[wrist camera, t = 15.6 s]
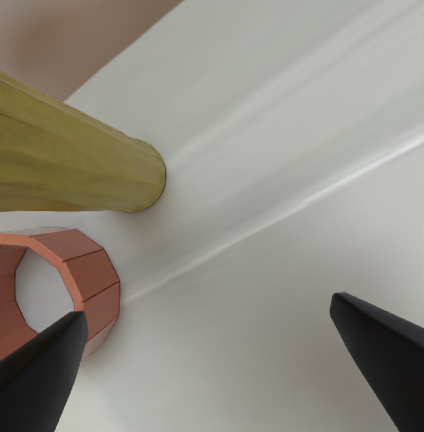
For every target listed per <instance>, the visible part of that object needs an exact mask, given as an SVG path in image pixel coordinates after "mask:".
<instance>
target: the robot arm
mask: <svg viewBox="0 0 424 432" xmlns="http://www.w3.org/2000/svg"><path fill="white" fill-rule="evenodd" d="M330 316H331V319H332V320H333V322H334V324H335V326H336V328H337V330H338V332H339V334H340V336H341V338H342V340H343V342H344V343H345V345H346V347H347V349H348V351H349V353H350V355H351V356H352V358H353V360H354V361H355V363H356V365H357V366H358V368H359V369H360V371H361V372H362V374H363V376H364V377H365V379H366V380H367V382H368V383H369V385H370V387H371V388H372V390H373V391H374V393H375V394H376V396H377V397H378V399H379V401H380V402H381V404H382V405H383V407H384V408H385V410H386V412H387V413H388V415H389V416H390V418H391V419H392V421H393V422H394V424H395V426H396V427H397V429H398V430H399V432H424V328H422V327H420V326H418V325H415V324H413V323H411V322H409V321H407V320H405V319H402V318H400V317H398V316H396V315H394V314H391V313H389V312H387V311H385V310H383V309H381V308H378V307H376V306H374V305H372V304H370V303H367V302H365V301H363V300H361V299H359V298H356V297H354V296H352V295H350V294H348V293H345V292H340V293H334V294H333V296H332V301H331V306H330ZM88 335H89V329H88V324H87V319H86V314H85V312H84V311H72V312H70V313H68V314H67V315H65V316H64V317H62V318H61V319H59V320H58V321H57V322H55V323H54V324H52V325H51V326H49V327H48V328H47V329H45V330H44V331H42V332H41V333H39V334H38V335H36V336H35V337H34V338H32V339H31V340H29V341H28V342H26V343H25V344H24V345H22V346H21V347H19V348H18V349H16V350H15V351H14V352H12V353H11V354H9V355H8V356H6V357H5V358H3V359H2V360H1V361H0V432H54V431H55V429H56V426H57V424H58V422H59V419H60V417H61V414H62V412H63V410H64V407H65V405H66V402H67V400H68V397H69V395H70V393H71V390H72V387H73V385H74V382H75V379H76V375H77V372H78V369H79V366H80V362H81V359H82V356H83V352H84V349H85V346H86V343H87V339H88Z"/></svg>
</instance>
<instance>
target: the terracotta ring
mask: <svg viewBox="0 0 424 432" xmlns="http://www.w3.org/2000/svg"><path fill="white" fill-rule="evenodd" d="M28 247H29V248H31V249H32V250H33V251H35V252H36V253H37V254H39V255H40V256H41V257H43V258H44V259H45V260H47V261H48V262H49V263H50V264H52V265H53V266H54V267H56V268H57V269H58V271H59V273H60V275H61V277H62V279H63V281H64V284H65V286H66V288H67V290H68V292H69V294H70V296H71V298H72V300H73V302H74V311H84V312H85V314H86V319H87V324H88V329H89V335H88V339H87V343H86V346H85V349H84V352H83V356H82V359H81V362H82V361H83V360H84V359H85V358H86V357H87V356H88V355H89V354H90V353H92V352H93V351H94V350H95V349H96V348H97V347H98V346H99V345H100V344H101V343H102V342H103V341H104V339H105V338H106V336H107V334H108V333H109V331H110V330H111V328H112V326H113V325H114V323H115V321H116V320H117V318H118V315H119V288H120V282H118V281H119V278H118V276H117V274H116V272H115V270H114V268H113V266H112V264H111V262H110V260H109V258H108V256H107V254H106V252H105V250H103V248H102V247H101V246H100V245H98V244H97V243H95V242H94V241H93V240H91V239H90V238H88V237H87V236H86V235H84V234H83V233H81V232H80V231H79V230H76V229H67V228H53V227H44V228H35V229H26V230H17V231H8V232H0V361H1V360H2V359H3V358H5V357H6V356H8V355H9V354H11V353H12V352H14V351H15V350H16V349H18V348H19V347H21V346H22V345H24V344H25V343H26V342H28V341H29V340H31V339H32V338H34V337H35V336H36V335H38V334H37V333H36V332H35V331H33V330H32V329H31V328H30V327H28V326H27V325H26V323H25V321H24V319H23V316H22V314H21V312H20V310H19V308H18V306H17V304H16V302H15V270H16V268H17V266H18V264H19V262H20V260H21V258H22V256H23V254H24V252H25V250H26V249H27V248H28ZM81 362H80V363H81Z"/></svg>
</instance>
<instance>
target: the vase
mask: <svg viewBox="0 0 424 432" xmlns="http://www.w3.org/2000/svg"><path fill="white" fill-rule="evenodd" d="M164 184H165V168H164V164H163V161H162V159H161V157H160V155H159V153H158V152H157V151H156V150H155V149H154V148H153V147H152V146H151V145H150V144H148V143H146V142H144V141H142V140H139V139H135V138H131V137H129V136H127V135H126V134H124V133H122V132H121V131H119V130H117V129H115V128H113V127H111V126H109V125H107V124H105V123H103V122H101V121H99V120H97V119H94V118H92V117H91V116H89V115H87V114H85V113H83V112H81V111H79V110H77V109H75V108H73V107H71V106H69V105H67V104H65V103H63V102H61V101H59V100H57V99H55V98H53V97H51V96H48V95H46V94H45V93H42V92H40V91H38V90H36V89H34V88H32V87H30V86H28V85H26V84H25V83H23V82H20V81H19V80H17V79H15V78H13V77H11V76H9V75H7V74H5V73H3V72H1V71H0V212H7V211H103V210H112V211H122V212H127V213H136V212H139V211H142V210H144V209H146V208H148V207H150V206H151V205H152V204H153V203H154V202H155V201H156V200H157V199H158V198H159V196H160V194H161V192H162V190H163V188H164Z"/></svg>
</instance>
